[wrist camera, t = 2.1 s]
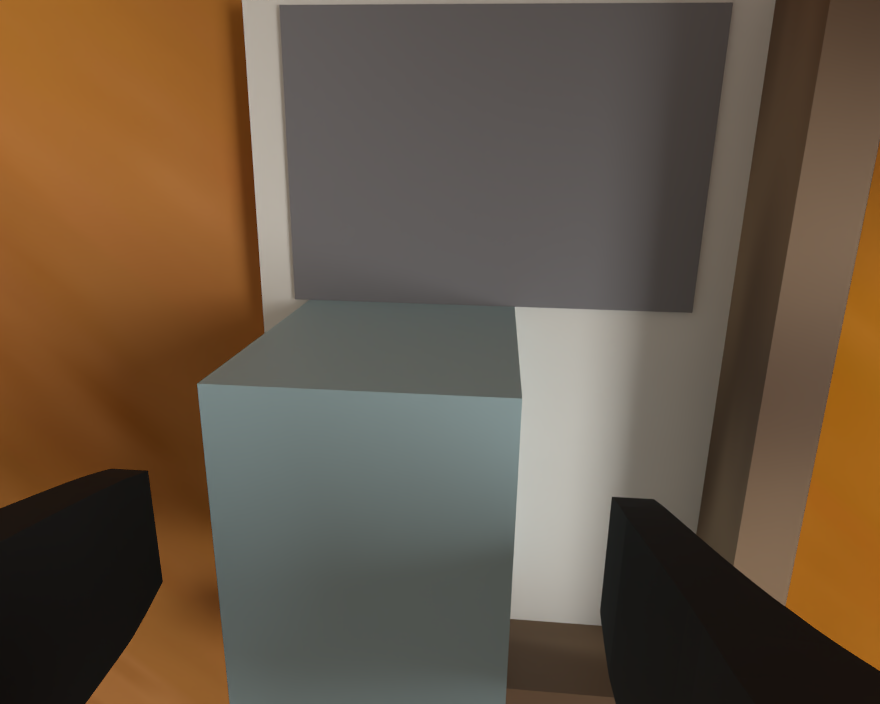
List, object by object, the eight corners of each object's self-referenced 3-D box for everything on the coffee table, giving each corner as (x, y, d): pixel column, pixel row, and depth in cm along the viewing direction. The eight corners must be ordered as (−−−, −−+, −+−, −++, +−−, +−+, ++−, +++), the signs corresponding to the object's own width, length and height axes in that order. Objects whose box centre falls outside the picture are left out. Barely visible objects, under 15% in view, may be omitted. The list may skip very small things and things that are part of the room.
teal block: (501, 572, 14) (501, 783, 9) (323, 559, 14) (235, 757, 10) (514, 305, 12) (521, 398, 8) (311, 298, 13) (196, 383, 8)
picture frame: (714, 655, 15) (756, 751, 12) (291, 622, 16) (254, 706, 13) (825, 2, 11) (915, -40, 9) (252, 6, 12) (188, -32, 9)
